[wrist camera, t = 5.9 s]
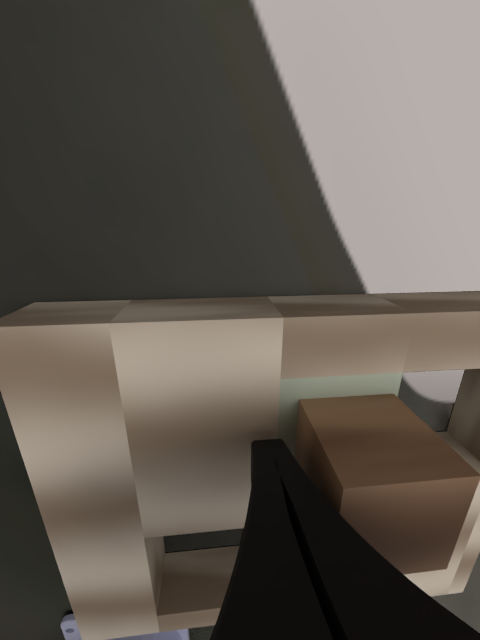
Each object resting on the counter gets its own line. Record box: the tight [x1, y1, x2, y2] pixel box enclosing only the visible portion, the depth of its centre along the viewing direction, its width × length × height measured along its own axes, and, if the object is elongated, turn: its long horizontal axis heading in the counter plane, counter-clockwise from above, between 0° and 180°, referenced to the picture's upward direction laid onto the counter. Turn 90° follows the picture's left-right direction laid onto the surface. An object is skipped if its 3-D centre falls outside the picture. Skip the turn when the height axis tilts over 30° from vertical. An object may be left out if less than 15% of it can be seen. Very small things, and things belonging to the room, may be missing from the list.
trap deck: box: [0, 291, 480, 640], centre depth 15 cm, size 18×22×3 cm
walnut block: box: [294, 394, 480, 574], centre depth 10 cm, size 4×4×4 cm
